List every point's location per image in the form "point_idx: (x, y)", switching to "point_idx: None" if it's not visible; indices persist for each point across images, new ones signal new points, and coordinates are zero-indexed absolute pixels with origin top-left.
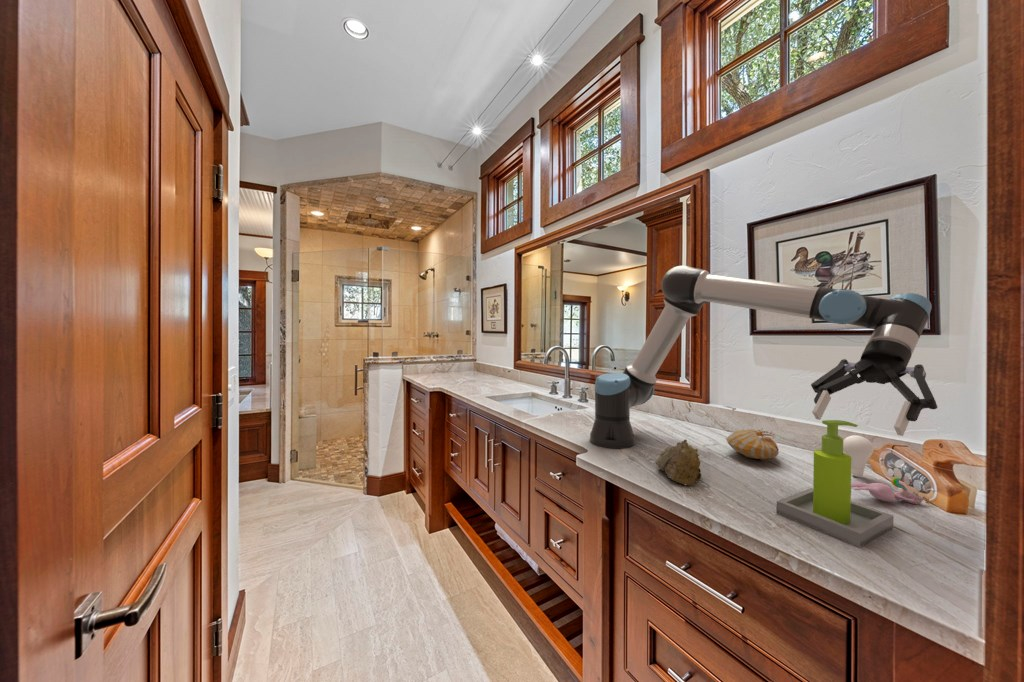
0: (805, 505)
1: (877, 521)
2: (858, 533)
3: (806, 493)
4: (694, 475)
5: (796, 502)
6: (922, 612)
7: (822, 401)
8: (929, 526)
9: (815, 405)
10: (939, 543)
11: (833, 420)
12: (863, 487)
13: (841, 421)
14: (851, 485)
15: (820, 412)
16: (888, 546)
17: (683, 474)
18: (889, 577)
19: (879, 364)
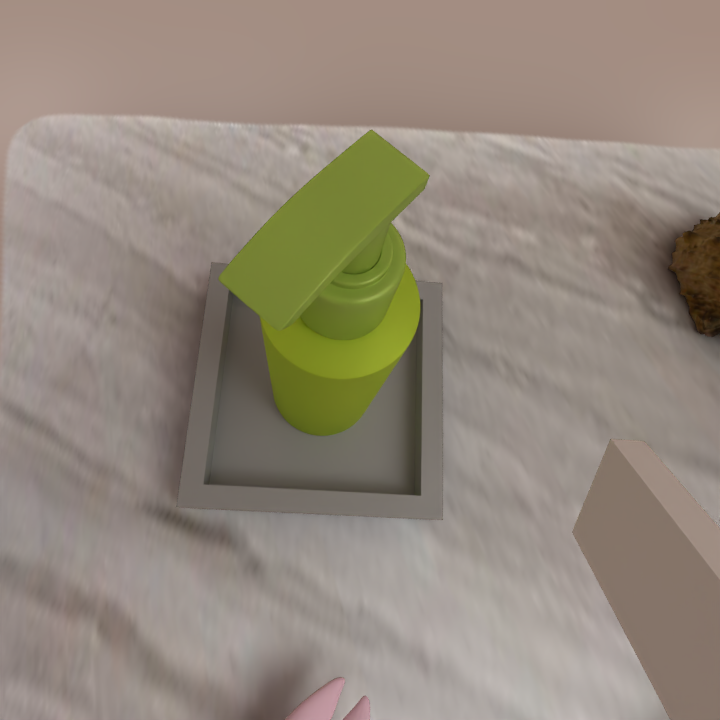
0: (402, 402)
1: (200, 398)
2: (216, 264)
3: (424, 438)
4: (696, 261)
5: (418, 368)
6: (75, 116)
7: (711, 594)
8: (106, 651)
9: (698, 506)
10: (72, 515)
11: (371, 209)
12: (315, 708)
13: (318, 217)
14: (361, 707)
15: (614, 538)
16: (171, 355)
17: (709, 225)
18: (139, 193)
19: None
